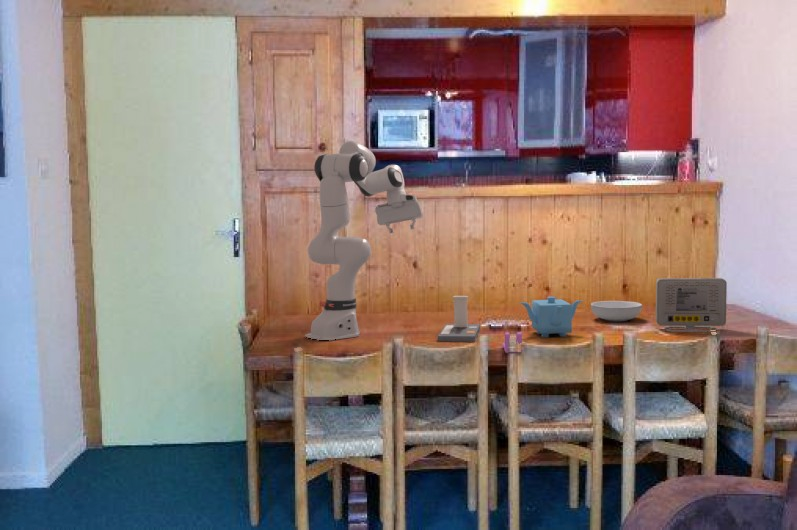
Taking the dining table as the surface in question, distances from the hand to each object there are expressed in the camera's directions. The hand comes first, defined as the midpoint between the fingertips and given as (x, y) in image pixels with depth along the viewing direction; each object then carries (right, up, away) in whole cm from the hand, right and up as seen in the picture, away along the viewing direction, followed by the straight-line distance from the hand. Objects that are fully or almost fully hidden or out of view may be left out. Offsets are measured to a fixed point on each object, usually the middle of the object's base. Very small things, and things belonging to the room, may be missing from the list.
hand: (402, 231), depth 363 cm
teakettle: (+58, -42, -46) cm, 85 cm away
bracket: (+39, -45, -69) cm, 91 cm away
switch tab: (+23, -39, -36) cm, 58 cm away
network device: (+112, -40, -42) cm, 126 cm away
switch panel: (+22, -42, -41) cm, 63 cm away
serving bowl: (+90, -38, -16) cm, 99 cm away
